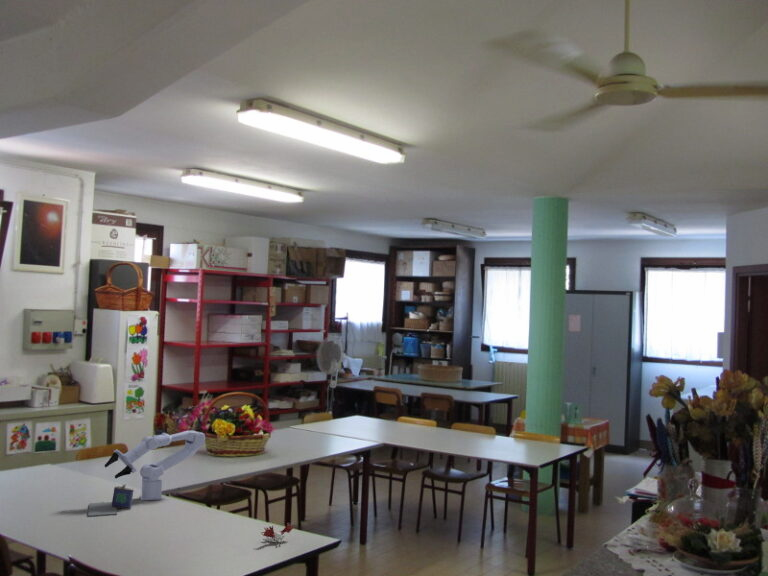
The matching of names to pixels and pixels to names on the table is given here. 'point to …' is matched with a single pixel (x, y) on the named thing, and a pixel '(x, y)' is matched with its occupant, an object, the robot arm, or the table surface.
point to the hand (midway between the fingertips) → (110, 471)
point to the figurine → (276, 535)
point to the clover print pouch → (122, 497)
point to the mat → (101, 509)
